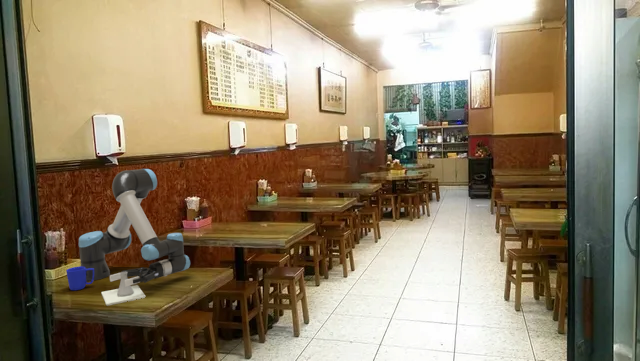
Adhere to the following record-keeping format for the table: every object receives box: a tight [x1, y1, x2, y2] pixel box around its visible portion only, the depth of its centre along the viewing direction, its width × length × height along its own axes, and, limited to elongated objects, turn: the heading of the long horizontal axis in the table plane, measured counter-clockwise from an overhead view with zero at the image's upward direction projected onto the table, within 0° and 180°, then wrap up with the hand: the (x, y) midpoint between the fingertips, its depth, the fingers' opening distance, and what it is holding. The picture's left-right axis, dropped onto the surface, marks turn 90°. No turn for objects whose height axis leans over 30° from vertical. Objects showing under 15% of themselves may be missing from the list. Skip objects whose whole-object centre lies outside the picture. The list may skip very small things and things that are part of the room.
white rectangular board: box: [101, 284, 146, 307], centre depth 209 cm, size 20×16×1 cm
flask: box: [117, 271, 134, 296], centre depth 209 cm, size 7×7×10 cm
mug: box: [66, 266, 95, 291], centre depth 224 cm, size 8×12×10 cm
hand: (117, 280), depth 206 cm, fingers open, 13 cm apart
